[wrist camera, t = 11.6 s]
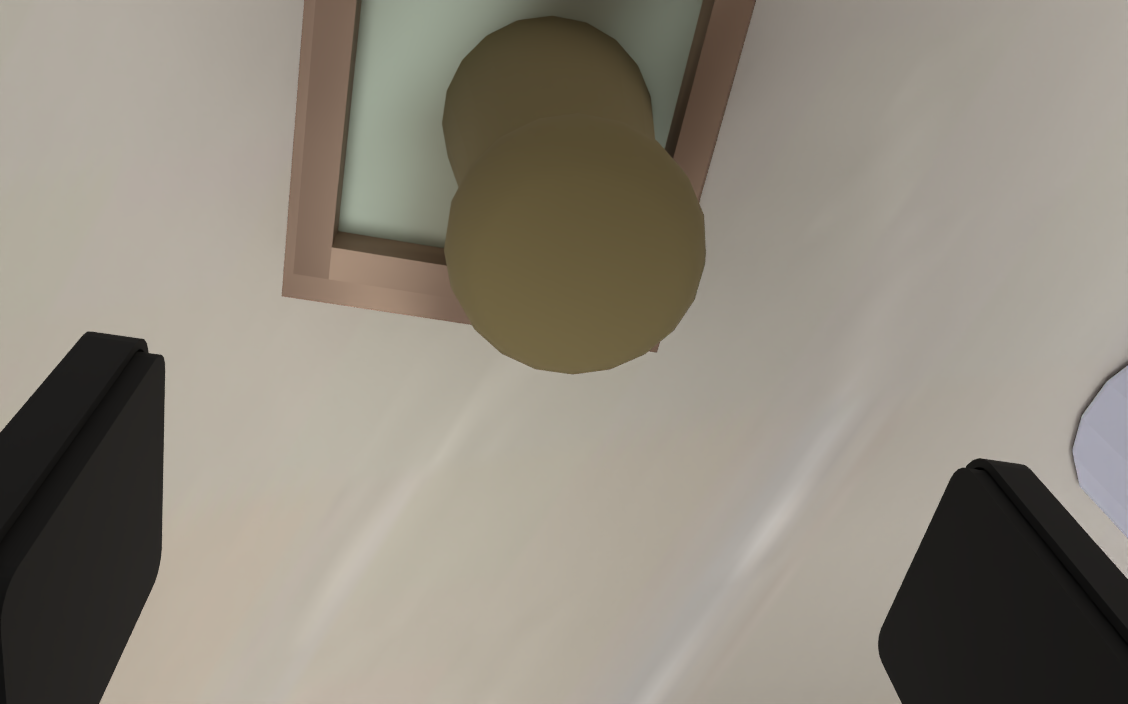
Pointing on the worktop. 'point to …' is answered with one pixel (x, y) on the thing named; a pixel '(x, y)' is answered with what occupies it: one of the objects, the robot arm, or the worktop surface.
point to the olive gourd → (565, 201)
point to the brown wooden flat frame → (416, 140)
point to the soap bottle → (1106, 450)
